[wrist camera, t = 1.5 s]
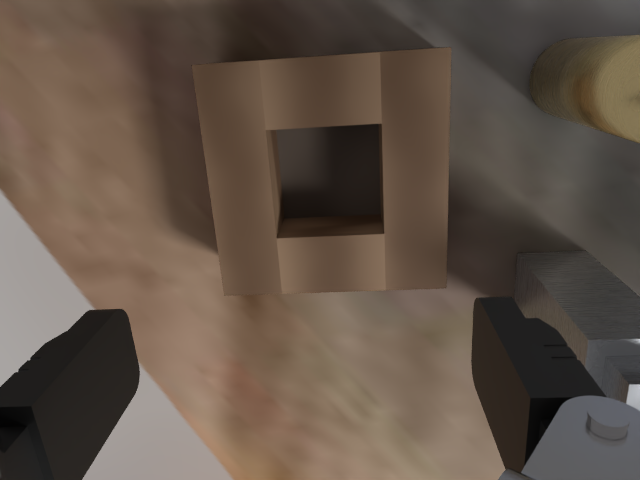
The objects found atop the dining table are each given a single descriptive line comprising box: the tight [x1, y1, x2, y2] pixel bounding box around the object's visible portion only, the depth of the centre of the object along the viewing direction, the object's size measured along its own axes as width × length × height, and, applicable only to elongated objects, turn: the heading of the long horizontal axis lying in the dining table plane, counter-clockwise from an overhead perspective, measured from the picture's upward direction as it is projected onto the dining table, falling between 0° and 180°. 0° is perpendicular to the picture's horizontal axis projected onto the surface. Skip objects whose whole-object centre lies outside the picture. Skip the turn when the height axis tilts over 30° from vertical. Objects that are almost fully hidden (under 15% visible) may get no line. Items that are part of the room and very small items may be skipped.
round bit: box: [530, 35, 640, 143], centre depth 22 cm, size 4×4×12 cm
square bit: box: [514, 250, 640, 411], centre depth 26 cm, size 4×4×12 cm
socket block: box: [191, 47, 451, 296], centre depth 28 cm, size 12×12×4 cm
